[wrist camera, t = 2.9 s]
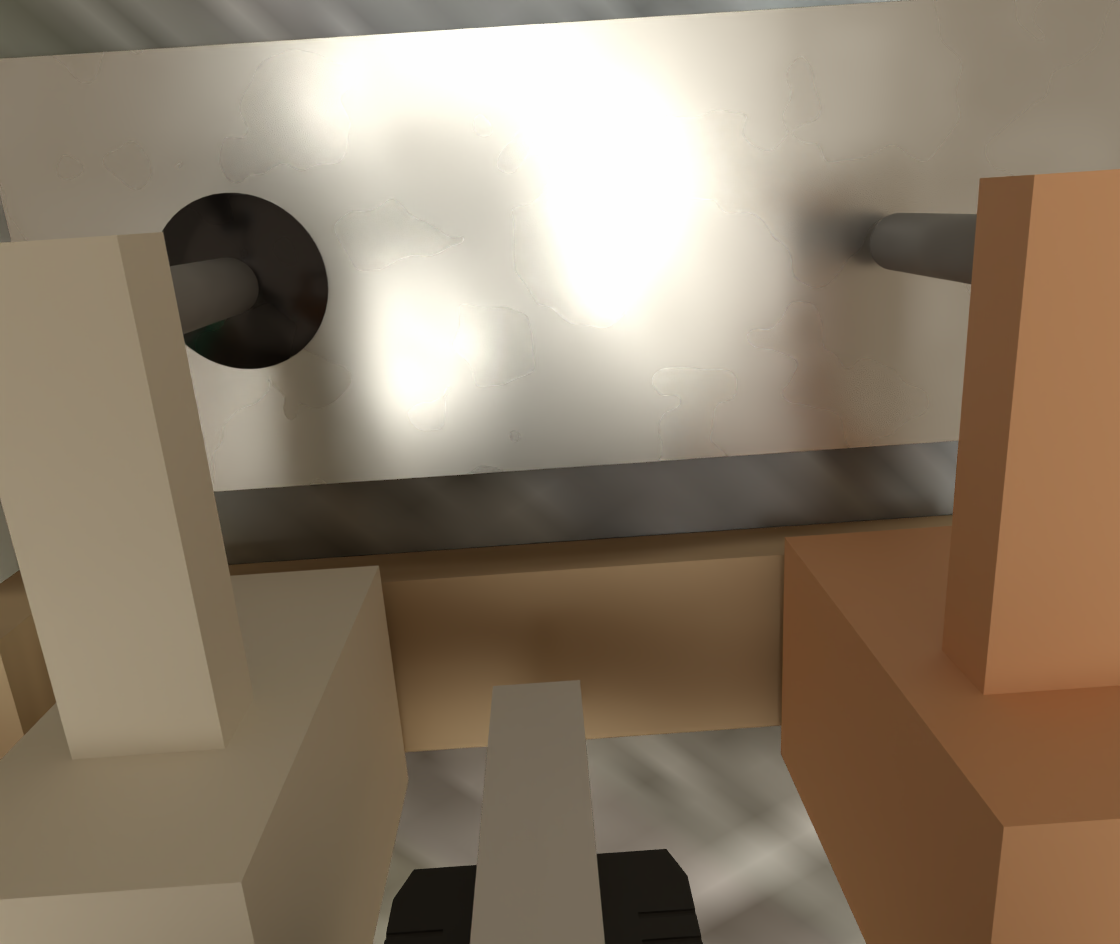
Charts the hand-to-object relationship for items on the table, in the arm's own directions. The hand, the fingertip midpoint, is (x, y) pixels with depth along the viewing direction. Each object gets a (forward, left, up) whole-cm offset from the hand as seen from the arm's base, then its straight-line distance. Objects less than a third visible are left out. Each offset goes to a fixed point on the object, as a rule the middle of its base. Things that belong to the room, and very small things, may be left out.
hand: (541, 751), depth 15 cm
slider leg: (-3, +7, -3) cm, 8 cm away
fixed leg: (-3, -5, -3) cm, 7 cm away
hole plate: (-8, +5, -5) cm, 11 cm away
